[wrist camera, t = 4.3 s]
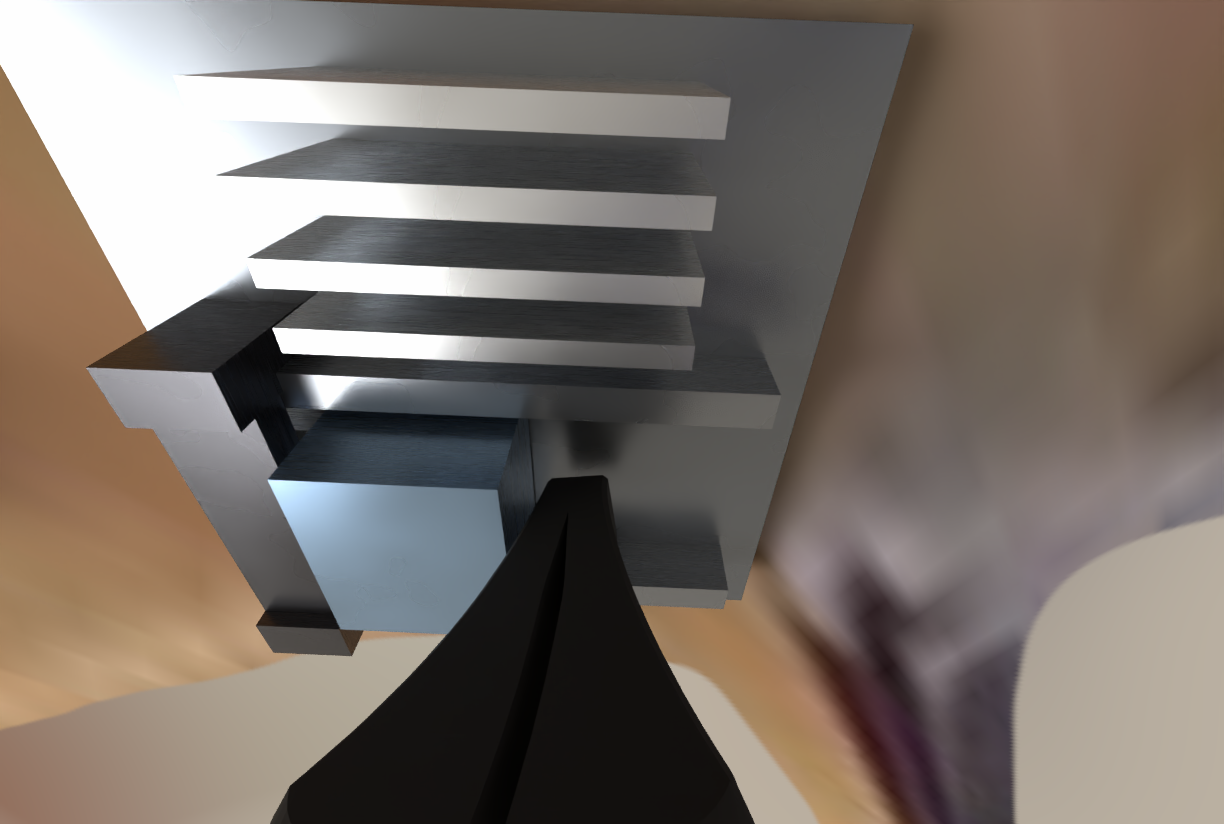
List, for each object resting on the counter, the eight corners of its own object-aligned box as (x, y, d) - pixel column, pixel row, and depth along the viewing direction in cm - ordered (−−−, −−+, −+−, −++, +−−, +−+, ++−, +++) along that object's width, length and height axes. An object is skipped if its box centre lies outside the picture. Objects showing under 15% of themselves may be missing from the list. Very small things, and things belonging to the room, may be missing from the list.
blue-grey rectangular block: (525, 393, 11) (497, 489, 9) (537, 534, 14) (517, 637, 12) (210, 380, 11) (95, 472, 9) (282, 522, 14) (208, 623, 12)
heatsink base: (880, 27, 8) (1050, 15, 5) (734, 567, 17) (761, 703, 13) (34, -7, 8) (-366, -41, 5) (304, 548, 17) (220, 677, 13)
